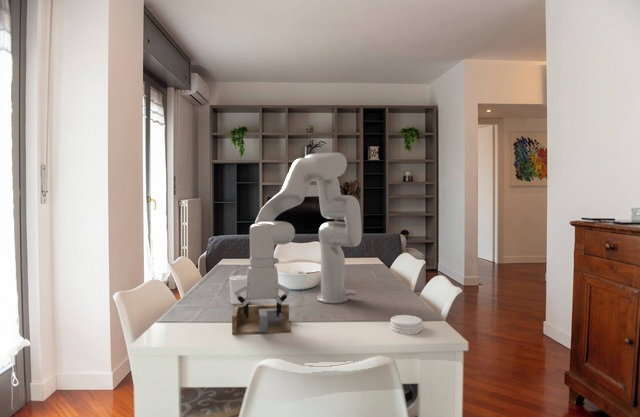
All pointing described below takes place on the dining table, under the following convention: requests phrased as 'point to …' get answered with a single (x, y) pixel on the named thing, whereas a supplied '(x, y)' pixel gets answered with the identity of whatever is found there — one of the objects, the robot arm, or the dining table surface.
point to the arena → (257, 320)
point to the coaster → (406, 324)
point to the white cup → (237, 287)
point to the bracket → (269, 319)
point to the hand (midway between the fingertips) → (262, 316)
